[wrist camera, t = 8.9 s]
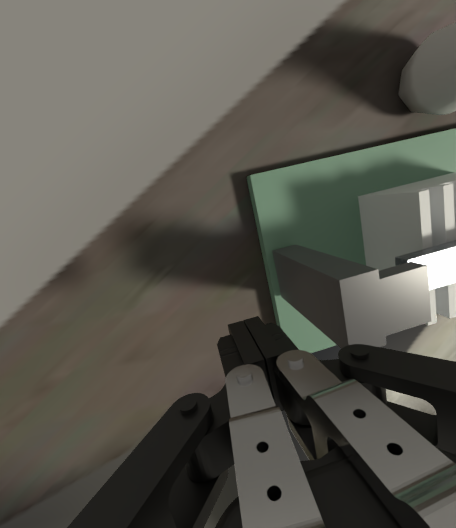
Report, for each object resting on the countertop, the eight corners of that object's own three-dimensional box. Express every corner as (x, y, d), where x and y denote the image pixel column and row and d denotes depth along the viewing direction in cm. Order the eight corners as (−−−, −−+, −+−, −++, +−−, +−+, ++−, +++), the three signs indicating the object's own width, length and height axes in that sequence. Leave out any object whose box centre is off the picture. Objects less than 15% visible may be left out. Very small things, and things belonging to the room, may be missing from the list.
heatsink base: (474, 293, 28) (618, 335, 19) (282, 353, 26) (339, 434, 16) (470, 125, 24) (646, 75, 15) (246, 177, 22) (294, 153, 13)
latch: (332, 282, 23) (431, 330, 14) (281, 296, 23) (350, 356, 14) (325, 236, 23) (427, 255, 13) (272, 250, 22) (339, 280, 13)
